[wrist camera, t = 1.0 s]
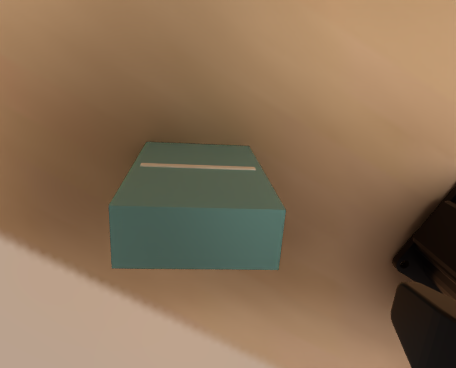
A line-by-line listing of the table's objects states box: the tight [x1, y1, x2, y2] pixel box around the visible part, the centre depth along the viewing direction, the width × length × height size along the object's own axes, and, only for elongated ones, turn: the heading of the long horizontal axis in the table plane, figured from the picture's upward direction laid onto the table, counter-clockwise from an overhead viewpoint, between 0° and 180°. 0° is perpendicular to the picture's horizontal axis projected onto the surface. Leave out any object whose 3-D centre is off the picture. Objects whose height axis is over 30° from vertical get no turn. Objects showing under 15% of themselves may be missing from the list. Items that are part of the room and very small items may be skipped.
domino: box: [109, 142, 286, 270], centre depth 14 cm, size 2×5×8 cm, turn 87°
